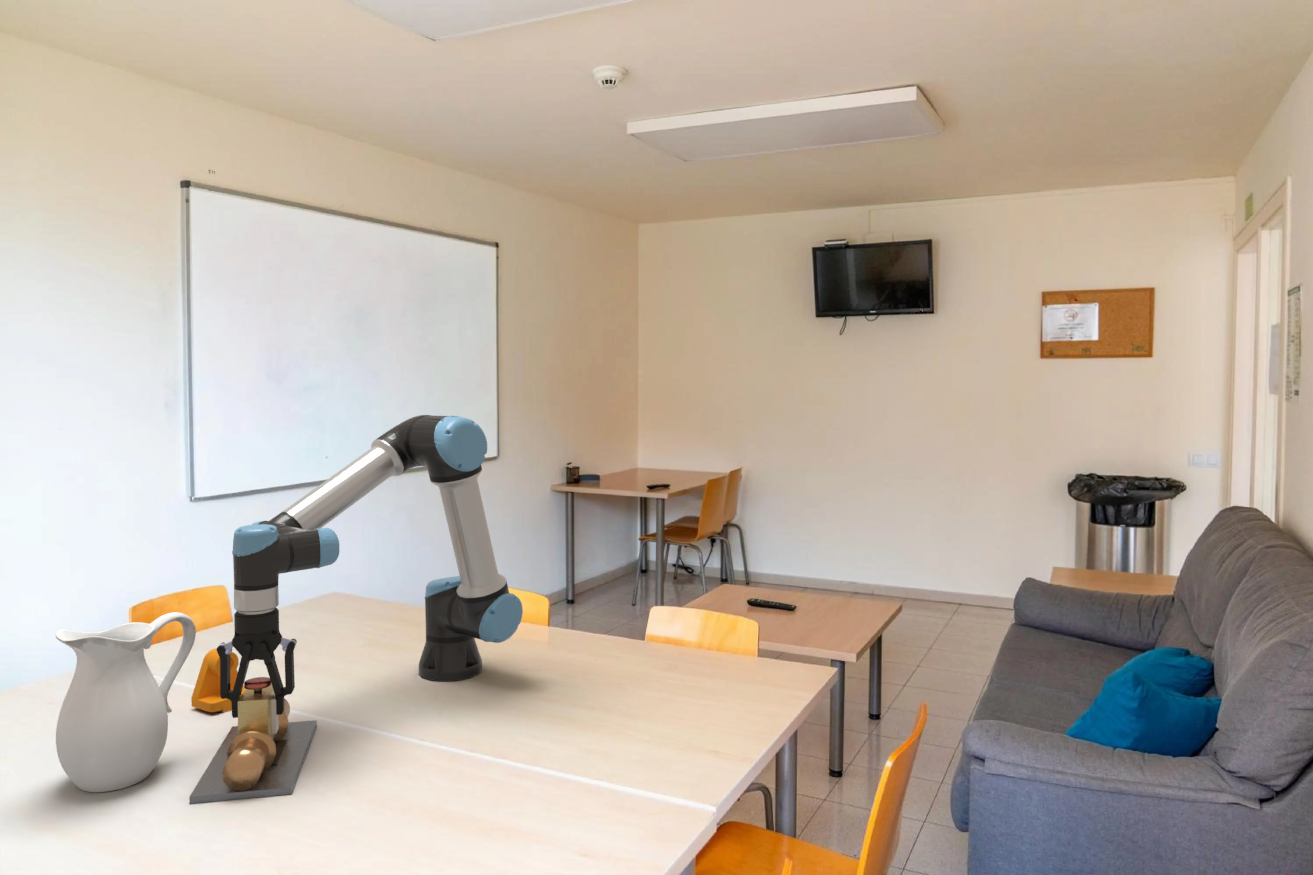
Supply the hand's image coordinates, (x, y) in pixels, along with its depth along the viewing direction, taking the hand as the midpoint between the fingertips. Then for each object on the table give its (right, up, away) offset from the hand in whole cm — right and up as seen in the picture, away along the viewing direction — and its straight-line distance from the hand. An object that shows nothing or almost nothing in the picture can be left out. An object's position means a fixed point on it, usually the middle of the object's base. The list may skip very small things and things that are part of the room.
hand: (258, 732), depth 165 cm
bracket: (-20, -4, +28) cm, 35 cm away
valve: (0, -1, 0) cm, 1 cm away
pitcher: (-20, -6, -4) cm, 22 cm away
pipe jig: (0, -5, 0) cm, 5 cm away
